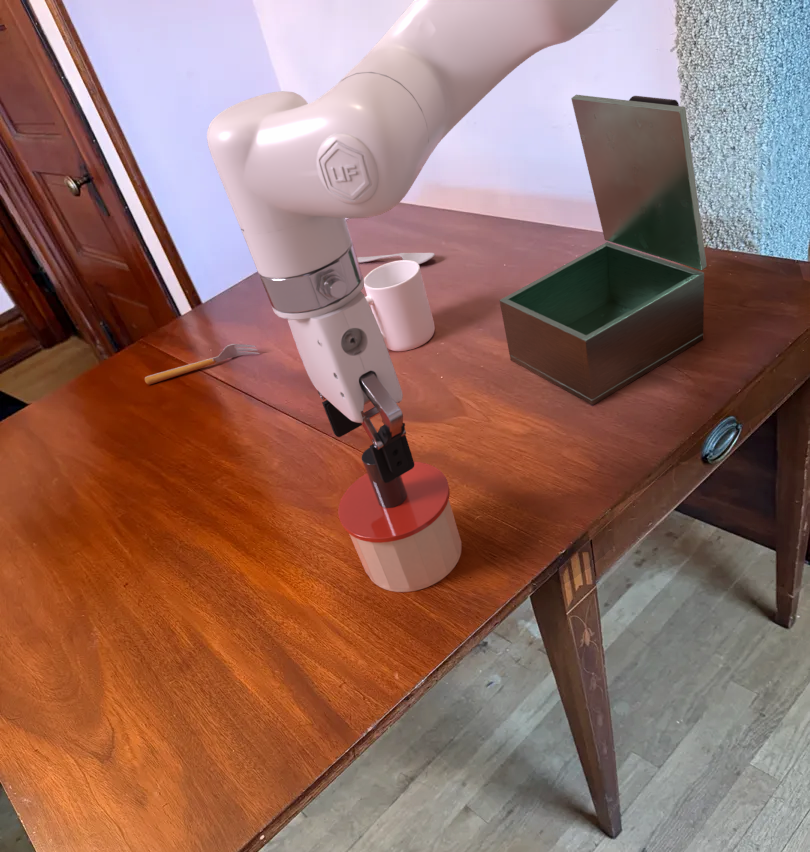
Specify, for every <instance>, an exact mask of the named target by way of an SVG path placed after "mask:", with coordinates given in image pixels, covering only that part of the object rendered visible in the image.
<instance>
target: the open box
mask: <svg viewBox="0 0 810 852" xmlns="http://www.w3.org/2000/svg"><path fill="white" fill-rule="evenodd" d="M704 303H705V272H703V271H701V270H698V269H695V268H692V267H689V266H686V265H682V264H679V263H676V262H673V261H670V260H667V259H663V258H660V257H657V256H654V255H651V254H648V253H644V252H641V251H638V250H635V249H632V248H629V247H625V246H622V245H619V244H616V243H613V242H610V241H606V242H604V243H603V244H601V245H599V246H597V247H595V248H592V249H591V250H590V251H587V252H586V253H584V254H582V255H579V257H576V258H575V259H573V260H571V261H569V262H568V263H566V264H563V265H562V266H559V267H558V268H555V269H554V270H552V271H550V272H549V273H547V274H545V275H543V276H542V277H540V278H538V279H536V280H534V281H532V282H531V283H528V284H527V285H525V286H523V287H521V288H519V289H517V290H515V291H514V292H512V293H510V294H508V295H506V296H505V297H502V298H501V299H499V305H500V312H501V317H502V321H503V327H504V328H503V329H504V333H505V338H506V343H507V348H508V349H507V350H508V354H509V359H510V361H512V362H513V363H515V364H517V365H519V366H521V367H523V368H525V369H526V370H528V371H530V372H532V373H533V374H535V375H537V376H539V377H541V378H543V379H544V380H546V381H548V382H549V383H552V384H553V385H555V386H557V387H559V388H560V389H562V390H564V391H566V392H568V393H569V394H571V395H573V396H575V397H576V398H578V399H580V400H581V401H584V402H585V403H587V404H589V405H591V406H595V405H596V404H597V403H599V402H601V401H602V400H604V399H606V398H607V397H609V396H611V395H612V394H614V393H616V392H618V391H620V390H621V389H622V388H624V387H626V386H628V385H629V384H631V383H632V382H634V381H636V380H638V379H639V378H641V377H643V376H645V375H647V374H648V373H649V372H651V371H653V370H654V369H656V368H658V367H660V366H661V365H663V364H664V363H666V362H667V361H670V360H671V359H673V358H674V357H677V356H678V355H680V354H681V353H683V352H684V351H686V350H688V349H689V348H691V347H693V346H695V345H696V344H698V343H699V342H701V341H703V340H704V328H705V327H704V326H705V325H704V324H705V317H704V316H705V315H704V314H705V313H704V312H705V308H704V307H705V304H704Z"/></svg>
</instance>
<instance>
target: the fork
mask: <svg viewBox="0 0 810 852" xmlns="http://www.w3.org/2000/svg"><path fill="white" fill-rule="evenodd" d="M256 347H257V346H256V345H254V344H245V343H244V344H243V343H230V344H228V345H226V346H225V347H224V348H223V349H222V351H221V352H220V353H219V355H217V356H214V357H210V358H207V359H203V360H199V361H196V362H192V363H189V364H186V365H181V366H178V367H175V368H174V367H173V368H171V369H167V370H164V371H161V372H156V373H154V374H149V375H147V376H145V377H144V382H145V383H146V384H147V385H154V384H157V383H159V382H162V381H166V380H169V379H172V378H175V377H178V376H181V375H184V374H187V373H190V372H193V371H197V370H200V369H202V368H206V367H209V366H211V365H214V364H218V363H221V362H223V361H225V360H227V359H232V358H236V357H240V356H246V355H261V353H260V352H258V351H259V349H257V348H256Z"/></svg>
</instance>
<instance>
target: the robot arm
mask: <svg viewBox="0 0 810 852" xmlns="http://www.w3.org/2000/svg"><path fill="white" fill-rule="evenodd" d="M618 1H619V0H413V1H412V2H411V3H410V4H409V6H407V8H406V9H405V10H404V11H403V12H402V14H401V15H400V16H399V17H398V18H397V19H396V20H395V21H394V23H393V24H392V25H391V26H390V28H389V29H388V30H387V31H386V32H385V33H384V34H383V35H382V37H381V38H380V39H379V40H378V41H377V42H376V43H375V45H374V46H373V47H371V49H370V50H369V51H368V52H367V53H366V55H364V57H363V58H362V59H361V60H360V61H359V62H358V63H357V64H355V65H354V66H353V67H352V68H351V69H350V70H349V71H348V72H347V73H346V74H345V75H344V76H343V77H342V78H341V79H340V80H339V81H338V82H337V83H336V84H335V85H334V86H333V87H332V88H330V89H329V90H327V91H326V92H325V93H323V94H322V95H321V96H319V97H318V98H316V99H315V100H313V101H311V102H309V103H308V101H307V100H306V99H305V98H304V97H303V96H302V95H301V94H299V93H296V92H295V91H285V90H282V91H281V90H280V91H273V92H268V93H264V94H259V95H256V96H253V97H250V98H247V99H244V100H242V101H239V102H237V103H235V104H233V105H231V106H228V107H227V108H225V109H224V110H222V111H221V112H219V113H218V114H216V115H215V117H214V118H213V119H212V120H211V121H210V123H209V125H208V127H207V132H206V140H207V145H208V150H209V153H210V155H211V158H212V161H213V163H214V166H215V168H216V170H217V171H216V172H217V173H218V176H219V178H220V181H221V183H222V186H223V189H224V191H225V193H226V195H227V199H228V201H229V204H230V205H231V206H230V207H231V208H232V211H233V214H234V216H235V219H236V221H237V223H238V226H239V228H240V231H241V234H242V235H243V238H244V241H245V243H246V246H247V248H248V250H249V253H250V255H251V258H252V261H253V263H254V266H255V268H256V270H257V273H258V276H259V279H260V280H261V283H262V285H263V288H264V290H265V293H266V296H267V299H268V301H269V303H270V305H271V308H272V310H273V313H274V314H275V316H277V317H278V318H280V319H284V320H286V321H287V322H288V326H289V328H290V332H291V334H292V338H293V340H294V343H295V347H296V349H297V352H298V354H299V357H300V359H301V362H302V365H303V366H304V367H303V368H304V369H305V372H306V374H307V375H308V378H309V380H310V382H311V384H312V385H313V387H314V388H315V389H316V391H317V394H318V396H319V397H320V399H321V400H322V402H321V404H322V406H323V410H324V412H325V415H326V417H327V420H328V422H329V424H330V427H331V430H332V433H333V434H334V435H335V437H337V438H341V437H343V436H346V435H347V434H349V433H350V432H353V431H354V430H356V429H358V428H359V427H362V428H363V430H364V431H365V432H366V434H367V436H368V438H369V439H370V442H371V443H372V444H370V445H369V448H370V449H371V452H372V455H373V458H374V460H375V463H376V466H377V469H378V472H379V475H380V477H381V479H382V480H383V481H384V482H385V483H388V482H390V481H392V480H394V479H395V478H397V477H399V476H400V475H402V474H404V473H406V472H407V471H409V470H411V469H412V468H413V467H414V457H413V454H412V451H411V448H410V445H409V443H408V438H407V436H406V435H407V431H406V427H405V426H406V423H405V422H404V414H403V411H402V409H401V408H400V406H399V405H398V403H399V404H400V403H401V402H402V401H403V397H404V393H403V390H402V387H401V384H400V381H399V378H398V375H397V373H396V370H395V366H394V364H393V360H392V358H391V356H390V352H389V349H388V348H387V347H386V344H385V341H384V339H383V336H382V334H381V331H380V328H379V326H378V324H377V321H376V319H375V317H374V314H373V312H372V309H371V306H370V305H369V304H368V302H367V300H366V298H365V297H366V296H365V294H364V292H362V290H363V289H364V276H363V272H362V269H361V265H360V263H359V262H358V259H357V257H358V256H357V253H356V249H355V246H354V242H353V240H352V237H351V233H350V230H349V226H348V223H347V220H346V219H368V218H373V217H377V216H381V215H383V214H385V213H387V212H389V211H391V210H392V209H393V208H395V207H396V206H397V205H398V204H400V203H401V202H402V200H404V198H405V197H406V195H407V194H408V193H409V191H410V190H411V188H412V186H413V184H414V183H415V181H416V180H417V178H418V177H419V175H420V173H421V172H422V170H423V168H424V166H425V165H426V163H427V161H428V160H429V158H430V157H431V155H432V153H433V152H434V151H435V149H436V148H437V147H438V145H439V143H440V142H441V141H442V140H443V139H444V138H445V137H446V136H447V135H448V134H449V133H450V132H451V131H452V130H453V128H454V127H456V125H457V124H458V123H460V121H462V120H463V118H465V117H466V116H467V115H468V114H469V113H470V111H472V110H473V108H475V106H477V105H478V104H479V103H480V102H481V101H482V100H483V99H484V98H485V97H486V96H487V95H488V94H489V93H490V92H492V90H493V89H494V88H495V87H496V86H498V85H499V84H500V83H501V82H502V81H503V80H504V79H505V78H506V77H507V76H508V75H510V74H511V73H512V72H513V71H514V70H515V69H517V68H518V67H519V66H521V65H522V64H523V63H525V62H526V61H527V60H528V59H530V58H531V57H532V56H534V55H535V54H537V53H538V52H540V51H543V50H545V49H547V48H549V47H552V46H557V45H561V44H564V43H566V42H569V41H571V40H573V39H574V38H575V37H577V36H579V35H580V34H582V33H583V32H585V31H586V30H587V29H588V28H590V27H591V26H593V25H594V24H595V23H596V22H597V21H598V20H599V19H600V18H602V17H603V15H605V14H606V13H607V12H608V11H609V10H610V9H611V8H612V7H613V6H614V5H615V4H616V3H617V2H618ZM368 403H369V404H370V403H371V404H372V405H373V407H372V408H370V409H368V410H366V411H365V405H367V404H368ZM378 415H380V417H381V422H382V424H383V425H381V426H380V427H379V428H378V430H377V429H376V428H375V426H374V423H372V421H371V419H373V418H375V417H377V416H378Z"/></svg>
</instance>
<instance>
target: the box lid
mask: <svg viewBox="0 0 810 852" xmlns="http://www.w3.org/2000/svg"><path fill="white" fill-rule="evenodd" d="M570 100H571V104H572V109H573V112H574V116H575V121H576V125H577V129H578V133H579V137H580V141H581V145H582V150H583V154H584V157H585V163H586V166H587V167H586V168H587V171H588V176H589V179H590V183H591V188H592V191H593V192H592V193H593V196H594V201H595V205H596V209H597V213H598V218H599V222H600V225H601V230H602V234H603V235H602V236H603V238H604V241H606V242H609V243H612V244H615V245H618V246H621V247H625V248H628V249H631V250H634V251H637V252H640V253H644V254H647V255H650V256H653V257H656V258H660V259H663V260H666V261H669V262H672V263H675V264H679V265H682V266H685V267H688V268H691V269H695V270H698V271H703V270H704V269H706V268H707V258H706V251H705V244H704V235H703V227H702V220H701V214H700V206H699V205H700V204H699V198H698V190H697V183H696V176H695V168H694V162H693V155H692V147H691V146H692V145H691V140H690V131H689V123H688V116H687V109H686V106H682V105H681V106H680V104H679V102H678V100H676V99H672V98H671V99H670V98H663V97H662V98H661V97H652V96H643V95H633V96H631V97H630V98H629V99H627V100H626V99H619V98H610V97H601V96H592V95H584V94H575V95H574V96H572V97H571V99H570Z"/></svg>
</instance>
